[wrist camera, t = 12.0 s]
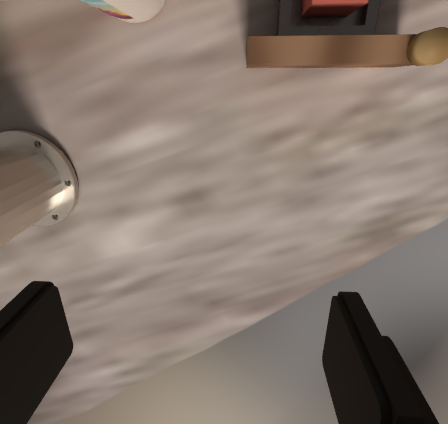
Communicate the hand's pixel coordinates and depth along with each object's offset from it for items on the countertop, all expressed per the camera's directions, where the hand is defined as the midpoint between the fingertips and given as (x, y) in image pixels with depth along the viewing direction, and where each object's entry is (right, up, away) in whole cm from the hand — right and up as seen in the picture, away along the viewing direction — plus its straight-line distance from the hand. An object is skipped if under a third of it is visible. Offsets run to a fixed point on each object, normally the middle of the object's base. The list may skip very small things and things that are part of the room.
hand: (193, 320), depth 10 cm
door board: (+11, +20, +21) cm, 31 cm away
